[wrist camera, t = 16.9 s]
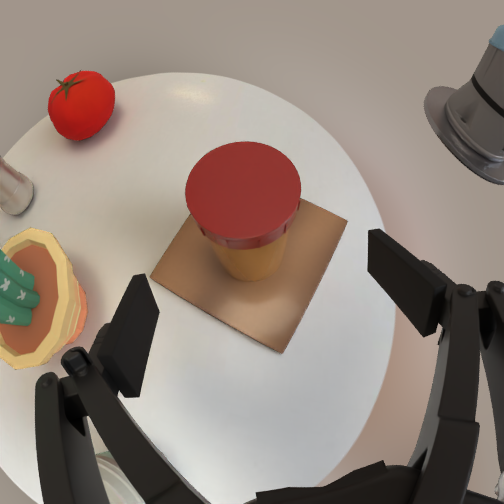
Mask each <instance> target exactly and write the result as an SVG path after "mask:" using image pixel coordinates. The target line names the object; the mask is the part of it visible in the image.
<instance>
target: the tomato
mask: <svg viewBox="0 0 504 504" xmlns="http://www.w3.org/2000/svg"><path fill="white" fill-rule="evenodd" d="M57 81H58V82H59V83H60V84H61V85H60V86H59V87H58V88H56V89H54V90H53V91H52V92H51V94H50V97H49V103H48V112H49V116H50V119H51V121H52V122H53V124H54V126H55V128H56V130H57V131H58V133H60V134H61V135H62V136H64V137H65V138H67V139H71V140H78V141H80V140H83V139H86V138H89V137H91V136H93V135H94V134H96V133H97V132H98V131H100V130H101V128H102V127H103V126H104V125H105V124H106V122H107V121H108V120H109V118H110V116H111V115H112V112H113V109H114V103H115V90H114V88H113V86H112V84H111V83H109V82H108V81H107V80H106V79H105V78H104V77H103V76H102V75H101V74H99V73H97V72H94V71H80V72H77V73H74V74H71V75H69V76H68V77H67V78H65V79H64V81H63V82H61V81H59V80H57Z"/></svg>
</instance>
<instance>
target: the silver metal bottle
mask: <svg viewBox="0 0 504 504" xmlns="http://www.w3.org/2000/svg"><path fill="white" fill-rule="evenodd" d="M32 197H33V185H32V183H31V182H30V180H29V179H28V178H27V177H26V176H25V175H23V174H22V173H20V172H17V171H16V170H15V169H14V168H12V167H11V166H10V165H9V164H7V163H6V162H5V161H4V159H2V158H1V156H0V207H1V208H2V209H3V210H4V211H5V212H7V213H9V214H11V215H17V214H20V213H22V212H23V211H24V210H25V209H26V208H27V207H28V205H29V204H30V202H31V200H32Z"/></svg>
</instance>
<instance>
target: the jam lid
mask: <svg viewBox="0 0 504 504" xmlns="http://www.w3.org/2000/svg"><path fill="white" fill-rule="evenodd" d="M300 195H301V182H300V177H299V174H298V172H297V170H296V168H295V166H294V165H293V163H292V162H291V161H290V160H289V159H288V158H287V157H286V156H285V155H284V154H283V153H282V152H280V151H278V150H277V149H275V148H273V147H271V146H268V145H265V144H262V143H257V142H234V143H229V144H226V145H223V146H220V147H218V148H216V149H214V150H212V151H210V152H209V153H207V154H206V155H205V156H203V157H202V158H201V159H200V160H199V161H198V162H197V163H196V165H195V166H194V167H193V169H192V171H191V172H190V174H189V177H188V180H187V183H186V189H185V196H186V203H187V207H188V209H189V211H190V213H191V215H192V217H193V219H194V221H195V223H196V225H197V227H198V228H199V230H200V231H201V232H202V234H203V236H206V237H207V238H208V239H210V240H211V241H213V242H214V243H216V244H218V245H221V246H223V247H226V248H228V249H236V250H248V249H255V248H261V247H263V246H265V245H268V244H270V243H272V242H274V241H275V240H277V239H278V238H280V237H281V236H282V235H283V234H284V233H285V234H286V231H287V230H288V229H289V228H290V226H291V224H292V223H293V221H294V219H295V217H296V214H297V210H299V206H300V202H301V200H300Z"/></svg>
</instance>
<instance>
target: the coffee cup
mask: <svg viewBox="0 0 504 504" xmlns="http://www.w3.org/2000/svg"><path fill="white" fill-rule="evenodd" d="M160 452H161V451H160ZM161 453H162V452H161ZM162 455H163V456H164V454H163V453H162ZM95 456H96V460H97V464H98V467H99V471H100V474H101V477H102V481H103V484H104V487H105V490H106V493H107V496H108V499H109V502H110V504H145V502H144V500H143V499H142V497H141V496H140V495H139V494H138V492H137V491H136V490H135V488H134V487H133V486H132V484H131V483H130V482H129V480H128V479H127V477H126V476H125V474H124V473H123V472H122V470H121V469H120V467H119V466H118V464H117V463H116V461H115V460H114V458H113V456H112V455H111V453H110V452H109V451H106V452H103V453H99V454H95ZM164 457H165V456H164ZM165 458H166V457H165ZM166 459H167V458H166Z"/></svg>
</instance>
